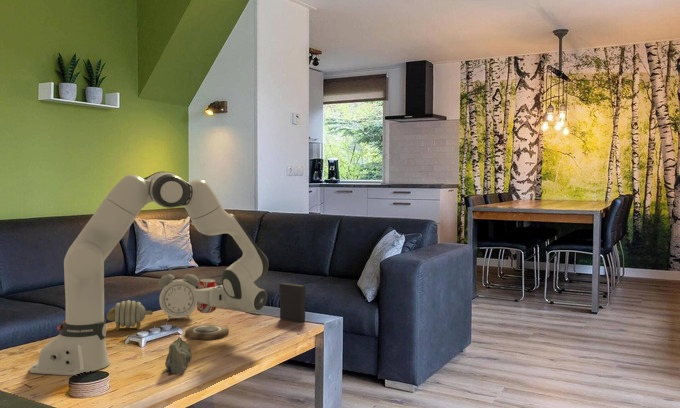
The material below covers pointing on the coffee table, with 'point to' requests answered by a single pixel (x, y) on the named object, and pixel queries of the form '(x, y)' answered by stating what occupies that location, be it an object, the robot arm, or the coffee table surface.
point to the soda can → (203, 284)
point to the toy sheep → (127, 314)
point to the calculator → (292, 302)
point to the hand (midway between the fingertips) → (205, 289)
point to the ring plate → (206, 332)
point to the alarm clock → (178, 294)
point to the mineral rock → (178, 356)
